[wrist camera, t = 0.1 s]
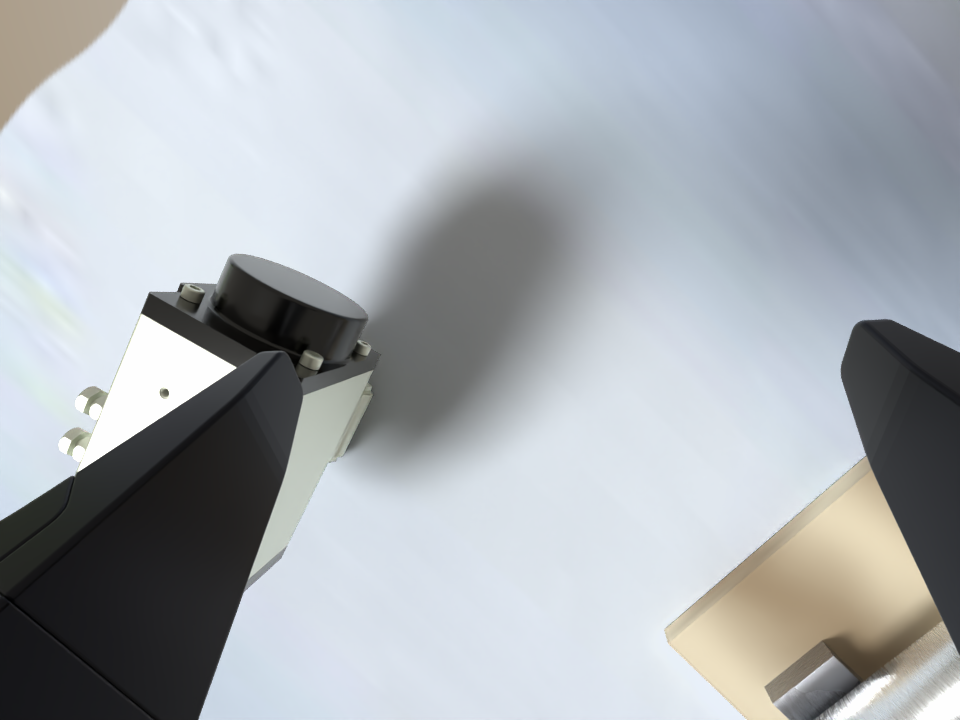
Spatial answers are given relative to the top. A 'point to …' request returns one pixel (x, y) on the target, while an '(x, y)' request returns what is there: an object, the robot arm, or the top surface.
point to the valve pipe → (874, 684)
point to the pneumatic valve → (225, 346)
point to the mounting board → (810, 598)
